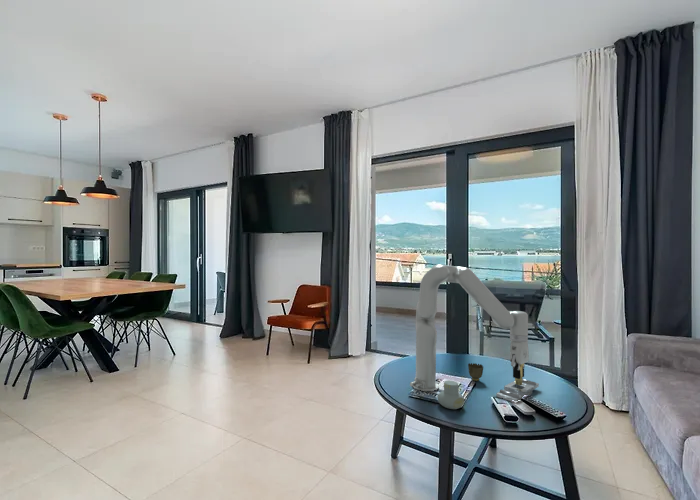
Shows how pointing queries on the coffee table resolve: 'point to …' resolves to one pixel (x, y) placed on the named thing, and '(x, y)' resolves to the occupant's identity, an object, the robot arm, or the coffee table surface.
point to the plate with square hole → (517, 390)
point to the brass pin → (519, 381)
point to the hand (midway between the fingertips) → (518, 376)
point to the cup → (475, 371)
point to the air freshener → (451, 396)
